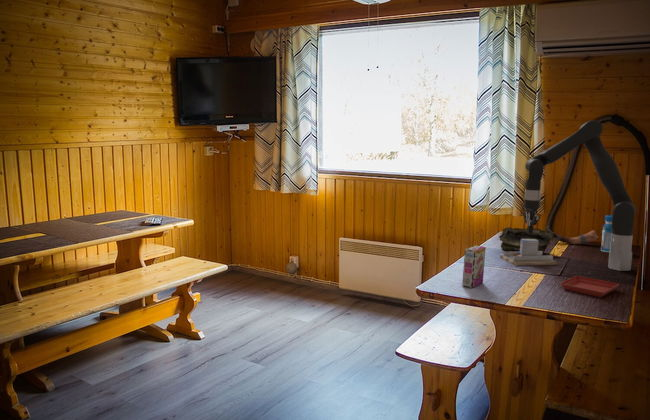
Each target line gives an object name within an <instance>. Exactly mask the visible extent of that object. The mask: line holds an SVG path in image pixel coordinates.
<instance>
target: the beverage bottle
mask: <svg viewBox="0 0 650 420" xmlns="http://www.w3.org/2000/svg"><path fill="white" fill-rule="evenodd" d="M612 215H613V214H608V215H605V216H604V222H605V223H604V224H603V226H602V230H601V234H602V235H601V245H600V251H601V252H603V253H609V252H610V242H611V233H612Z"/></svg>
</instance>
